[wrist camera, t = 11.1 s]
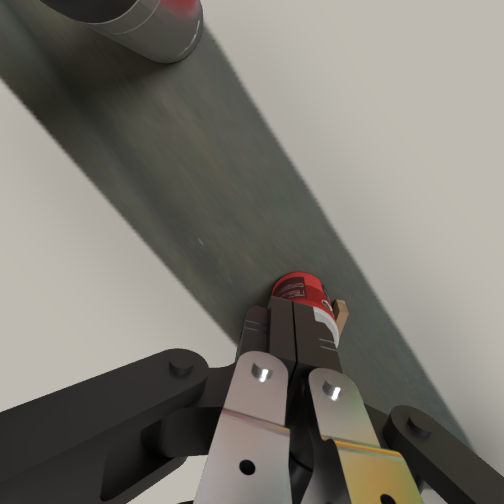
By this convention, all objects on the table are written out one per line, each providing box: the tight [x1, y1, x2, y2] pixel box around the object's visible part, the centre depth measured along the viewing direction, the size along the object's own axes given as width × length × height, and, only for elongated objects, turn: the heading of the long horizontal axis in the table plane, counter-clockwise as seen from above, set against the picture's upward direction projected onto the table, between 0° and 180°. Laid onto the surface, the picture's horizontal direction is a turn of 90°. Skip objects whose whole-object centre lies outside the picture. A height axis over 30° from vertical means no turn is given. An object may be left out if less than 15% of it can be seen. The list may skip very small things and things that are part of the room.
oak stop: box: [332, 299, 349, 337], centre depth 50 cm, size 11×7×4 cm, turn 76°
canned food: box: [272, 272, 339, 348], centre depth 46 cm, size 8×8×11 cm
